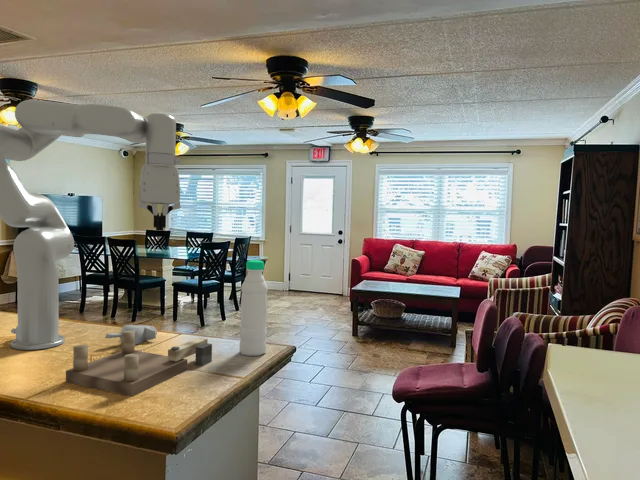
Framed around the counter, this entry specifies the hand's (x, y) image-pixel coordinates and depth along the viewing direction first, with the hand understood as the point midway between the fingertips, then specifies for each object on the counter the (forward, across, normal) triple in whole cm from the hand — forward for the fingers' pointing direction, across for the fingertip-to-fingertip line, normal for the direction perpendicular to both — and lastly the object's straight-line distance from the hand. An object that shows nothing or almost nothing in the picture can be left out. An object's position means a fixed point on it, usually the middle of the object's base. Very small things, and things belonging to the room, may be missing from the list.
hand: (159, 230), depth 127 cm
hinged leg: (+29, -6, +17) cm, 34 cm away
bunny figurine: (+32, +6, -7) cm, 34 cm away
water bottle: (+32, -23, +12) cm, 42 cm away
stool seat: (+32, +4, +18) cm, 37 cm away
